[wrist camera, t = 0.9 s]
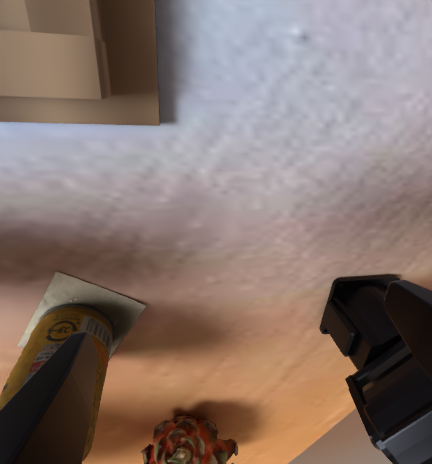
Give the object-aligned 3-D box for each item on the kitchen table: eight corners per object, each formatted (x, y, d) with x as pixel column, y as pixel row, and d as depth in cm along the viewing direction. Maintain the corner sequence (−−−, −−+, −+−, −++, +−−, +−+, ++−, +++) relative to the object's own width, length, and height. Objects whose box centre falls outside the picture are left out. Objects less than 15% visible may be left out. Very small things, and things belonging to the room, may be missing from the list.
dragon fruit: (160, 381, 32) (211, 412, 39) (105, 463, 28) (172, 480, 36) (214, 433, 26) (263, 458, 33) (152, 543, 22) (221, 544, 30)
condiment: (18, 344, 24) (-91, 547, 14) (57, 269, 22) (-43, 452, 11) (102, 366, 27) (65, 549, 17) (146, 303, 24) (134, 473, 14)
